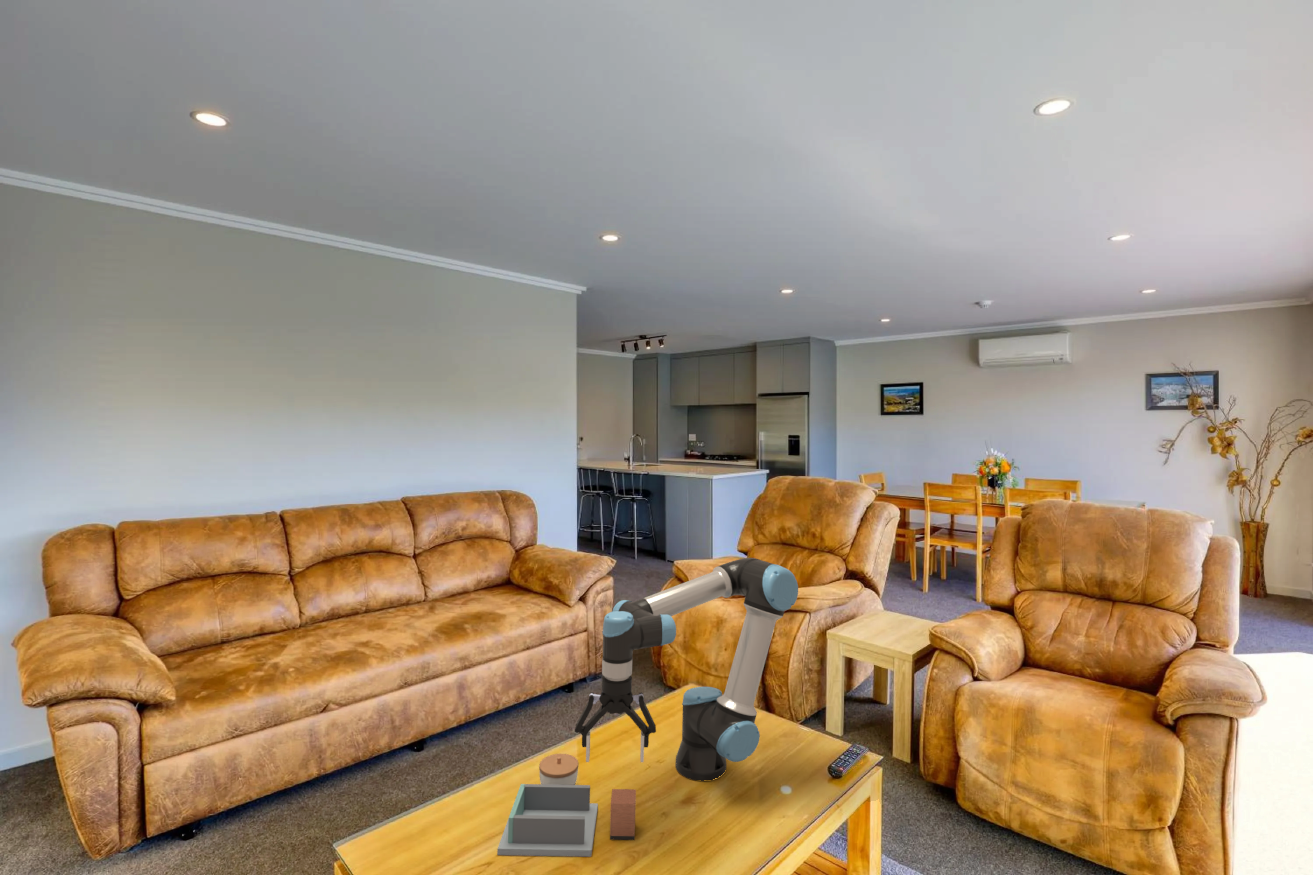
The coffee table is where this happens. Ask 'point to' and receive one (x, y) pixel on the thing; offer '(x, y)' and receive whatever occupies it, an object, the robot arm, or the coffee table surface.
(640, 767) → the coffee table surface
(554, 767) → the lidded jar
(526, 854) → the dock
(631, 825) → the upright terracotta block
